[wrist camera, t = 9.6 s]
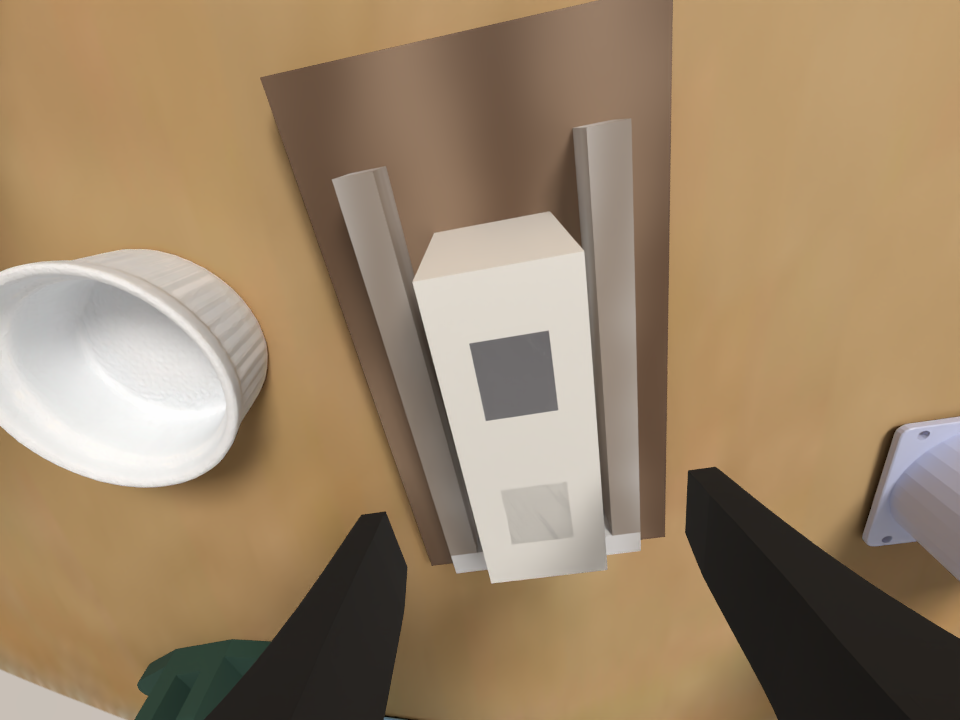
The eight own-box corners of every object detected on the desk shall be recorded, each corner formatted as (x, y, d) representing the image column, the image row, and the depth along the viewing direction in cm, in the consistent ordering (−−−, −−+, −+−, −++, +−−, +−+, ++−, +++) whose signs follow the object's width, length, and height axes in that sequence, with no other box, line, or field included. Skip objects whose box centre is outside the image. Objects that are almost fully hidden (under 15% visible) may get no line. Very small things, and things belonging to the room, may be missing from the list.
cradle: (653, -3, 13) (706, -43, 10) (654, 513, 23) (680, 572, 20) (280, 82, 14) (225, 69, 11) (434, 542, 24) (427, 601, 21)
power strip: (550, 211, 15) (584, 251, 10) (576, 461, 20) (607, 569, 15) (434, 232, 15) (412, 282, 10) (488, 473, 20) (491, 583, 15)
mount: (280, 628, 28) (243, 720, 24) (310, 666, 30) (281, 757, 26) (133, 654, 30) (73, 745, 25) (171, 688, 32) (121, 778, 27)
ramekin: (197, 197, 16) (109, 218, 12) (321, 389, 20) (284, 451, 16) (14, 282, 18) (-114, 324, 14) (163, 445, 21) (94, 514, 18)
